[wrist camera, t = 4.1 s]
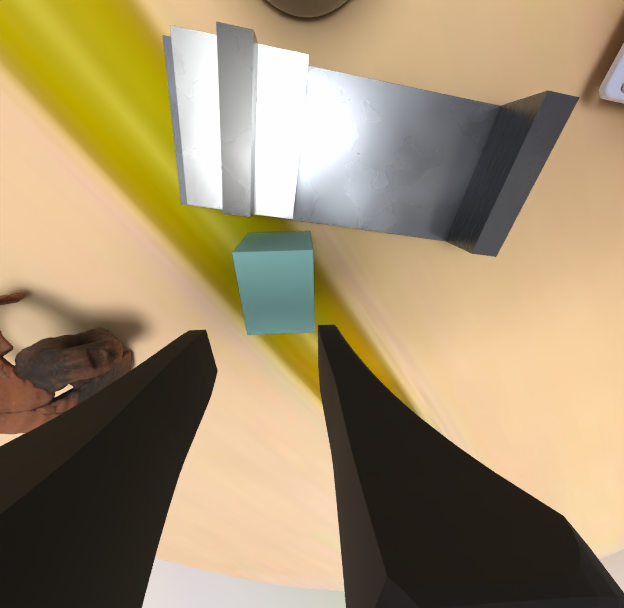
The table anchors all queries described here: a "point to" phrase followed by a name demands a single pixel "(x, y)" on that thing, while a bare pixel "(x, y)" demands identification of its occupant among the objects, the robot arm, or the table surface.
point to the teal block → (276, 282)
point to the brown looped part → (55, 375)
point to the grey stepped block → (239, 120)
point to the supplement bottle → (307, 6)
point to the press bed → (412, 157)
